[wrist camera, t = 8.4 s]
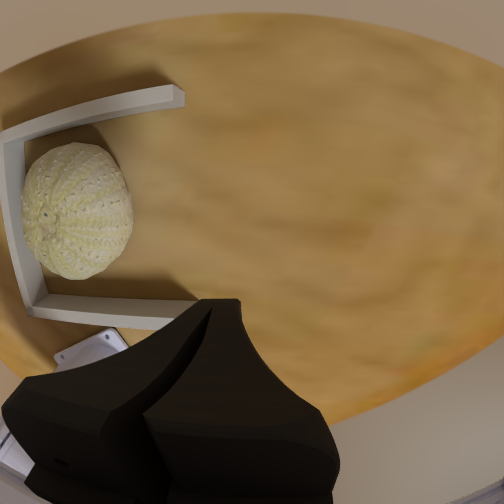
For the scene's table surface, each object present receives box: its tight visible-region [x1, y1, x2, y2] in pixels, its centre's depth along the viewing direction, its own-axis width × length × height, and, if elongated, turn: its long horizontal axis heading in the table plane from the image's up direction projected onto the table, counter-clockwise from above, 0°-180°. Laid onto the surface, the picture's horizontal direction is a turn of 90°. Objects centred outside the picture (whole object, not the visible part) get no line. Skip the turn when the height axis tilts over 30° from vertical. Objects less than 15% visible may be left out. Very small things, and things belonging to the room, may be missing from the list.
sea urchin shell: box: [21, 142, 134, 280], centre depth 18 cm, size 9×8×8 cm
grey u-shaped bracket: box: [0, 84, 197, 330], centre depth 19 cm, size 15×15×2 cm
